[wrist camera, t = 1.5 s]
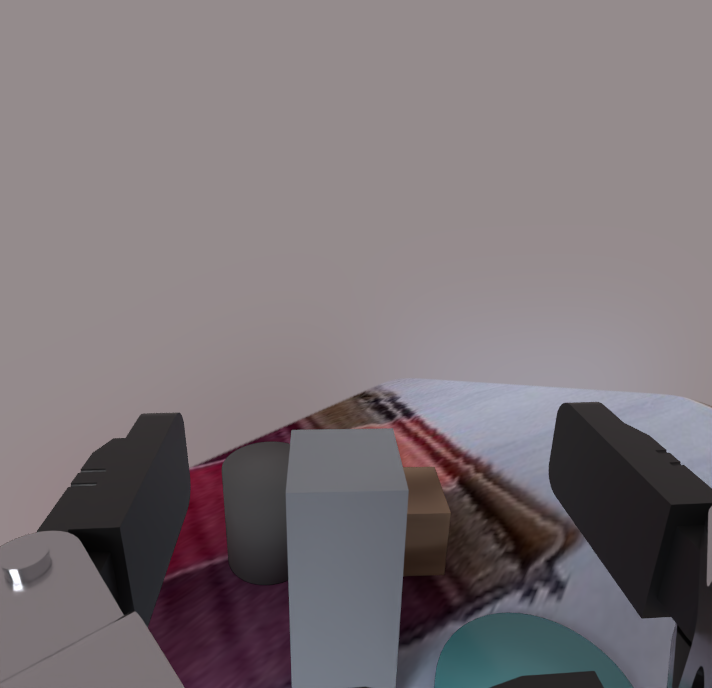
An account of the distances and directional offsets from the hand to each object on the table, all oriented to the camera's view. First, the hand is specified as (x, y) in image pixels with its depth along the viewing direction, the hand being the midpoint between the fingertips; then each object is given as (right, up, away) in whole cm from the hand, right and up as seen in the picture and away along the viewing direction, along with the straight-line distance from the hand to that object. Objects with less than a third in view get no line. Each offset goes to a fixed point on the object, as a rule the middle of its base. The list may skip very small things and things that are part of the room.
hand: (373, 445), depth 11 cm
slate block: (-1, -15, +17) cm, 23 cm away
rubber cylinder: (-6, -12, +25) cm, 28 cm away
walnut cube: (+3, -12, +26) cm, 28 cm away
